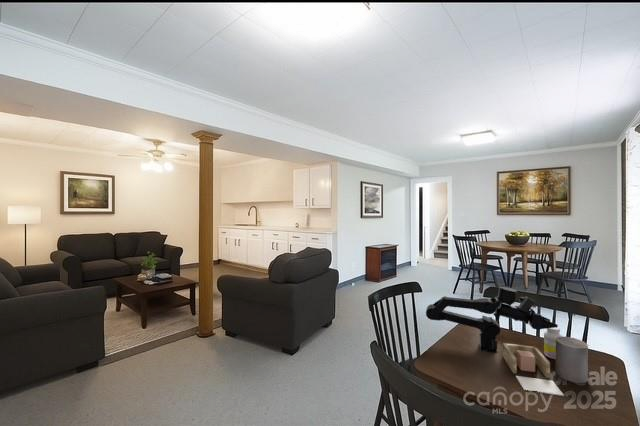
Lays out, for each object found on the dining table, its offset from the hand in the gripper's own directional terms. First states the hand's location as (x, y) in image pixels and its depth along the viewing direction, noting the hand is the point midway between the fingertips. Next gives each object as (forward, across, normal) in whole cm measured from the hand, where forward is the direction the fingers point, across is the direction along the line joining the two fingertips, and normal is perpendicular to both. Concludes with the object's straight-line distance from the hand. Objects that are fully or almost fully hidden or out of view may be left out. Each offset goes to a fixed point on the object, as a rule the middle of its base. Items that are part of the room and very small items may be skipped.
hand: (553, 323), depth 128 cm
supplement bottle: (+4, +5, +15) cm, 16 cm away
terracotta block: (-10, -10, +19) cm, 24 cm away
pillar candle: (+5, -12, +17) cm, 21 cm away
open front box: (-10, -10, +19) cm, 24 cm away
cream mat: (-8, -23, +20) cm, 32 cm away
